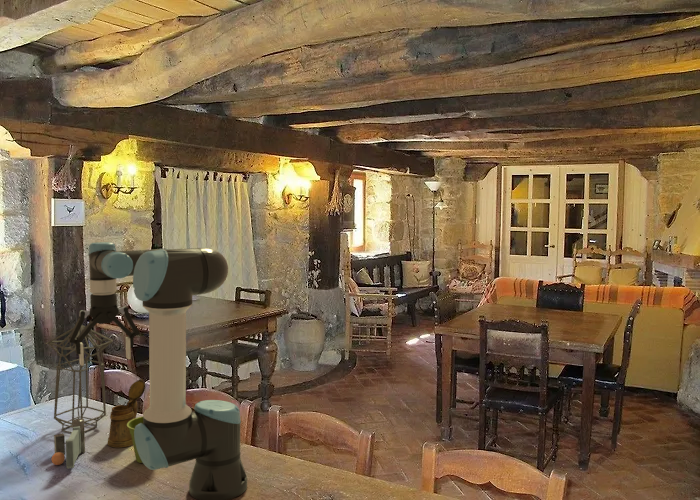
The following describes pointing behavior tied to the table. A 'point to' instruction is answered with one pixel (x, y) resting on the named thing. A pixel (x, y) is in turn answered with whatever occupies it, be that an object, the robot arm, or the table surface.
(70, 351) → the geometric lantern
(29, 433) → the table surface
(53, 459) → the ball
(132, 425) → the plant pot
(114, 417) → the wooden mug
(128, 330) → the robot arm
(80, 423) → the hinge post
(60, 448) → the block
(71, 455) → the grey-green flanged panel
